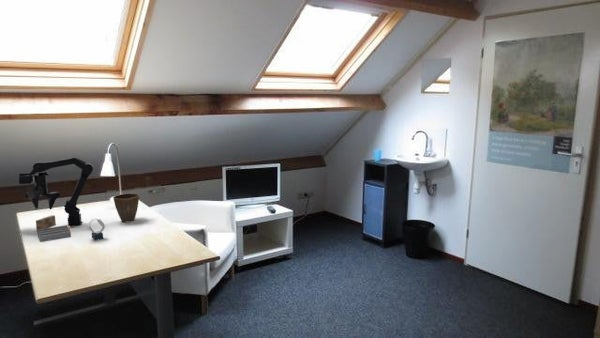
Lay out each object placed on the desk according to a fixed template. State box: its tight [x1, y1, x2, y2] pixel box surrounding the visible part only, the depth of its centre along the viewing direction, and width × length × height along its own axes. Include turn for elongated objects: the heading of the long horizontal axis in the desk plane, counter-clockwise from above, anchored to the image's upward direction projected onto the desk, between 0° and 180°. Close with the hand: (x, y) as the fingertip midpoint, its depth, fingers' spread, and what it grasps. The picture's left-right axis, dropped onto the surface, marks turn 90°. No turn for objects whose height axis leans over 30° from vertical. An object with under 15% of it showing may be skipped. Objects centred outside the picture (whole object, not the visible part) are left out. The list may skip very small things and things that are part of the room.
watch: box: [87, 218, 106, 241], centre depth 222 cm, size 6×8×11 cm
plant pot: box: [113, 193, 140, 223], centre depth 256 cm, size 15×15×16 cm
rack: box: [37, 224, 72, 242], centre depth 228 cm, size 15×15×4 cm
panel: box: [35, 214, 57, 231], centre depth 243 cm, size 12×2×6 cm, turn 171°
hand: (43, 209), depth 241 cm, fingers open, 9 cm apart
